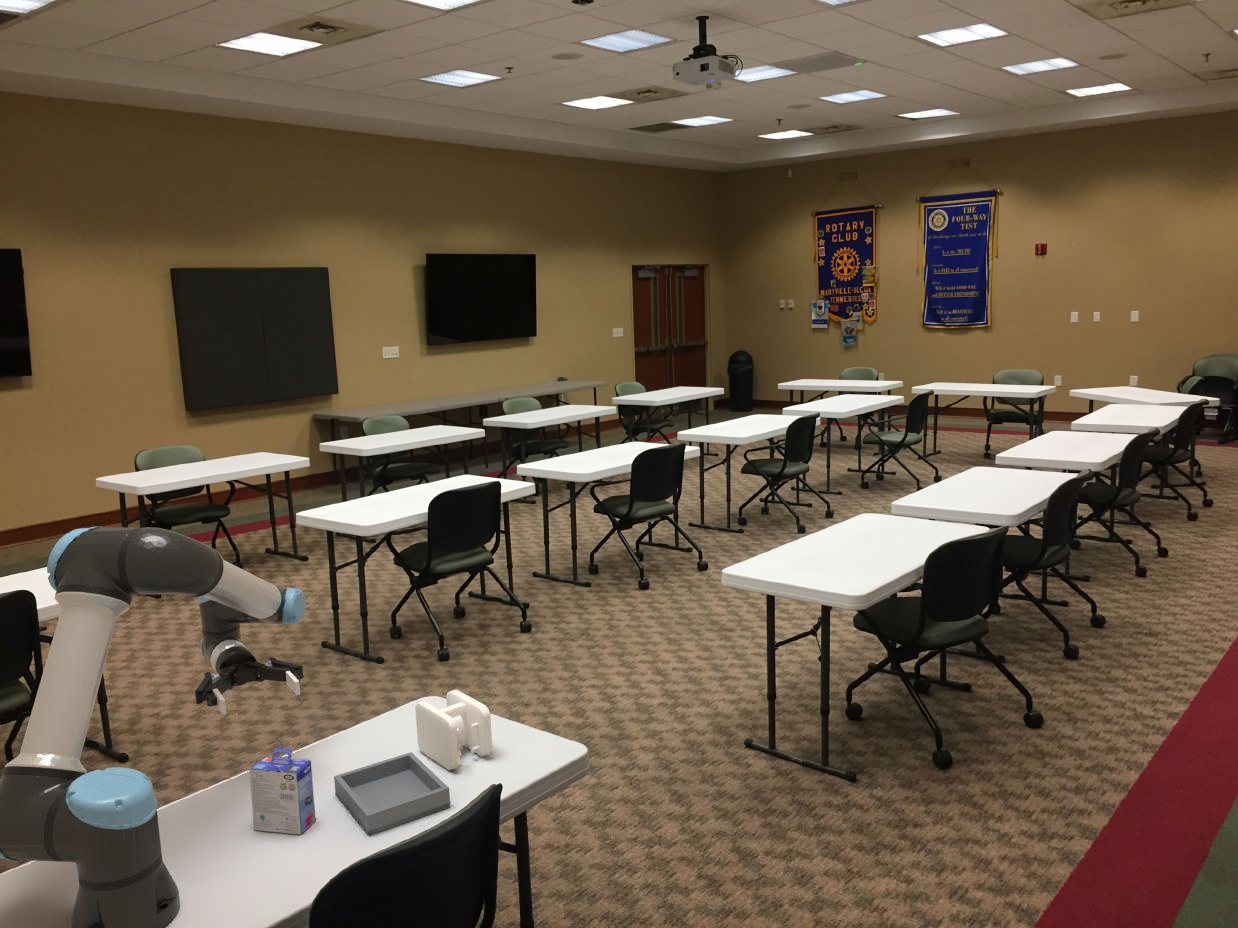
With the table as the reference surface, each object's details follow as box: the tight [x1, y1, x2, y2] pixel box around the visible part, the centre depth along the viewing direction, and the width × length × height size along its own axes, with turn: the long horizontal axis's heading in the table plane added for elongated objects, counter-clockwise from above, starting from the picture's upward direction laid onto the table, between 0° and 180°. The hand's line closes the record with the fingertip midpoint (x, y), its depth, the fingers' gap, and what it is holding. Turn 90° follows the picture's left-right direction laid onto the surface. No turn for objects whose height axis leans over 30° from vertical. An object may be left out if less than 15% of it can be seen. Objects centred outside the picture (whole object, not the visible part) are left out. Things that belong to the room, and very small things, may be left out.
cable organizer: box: [415, 689, 493, 771], centre depth 199 cm, size 15×11×12 cm
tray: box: [333, 751, 451, 837], centre depth 182 cm, size 16×18×4 cm
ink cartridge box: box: [249, 747, 316, 835], centre depth 173 cm, size 10×6×14 cm, turn 78°
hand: (261, 697), depth 179 cm, fingers open, 13 cm apart
